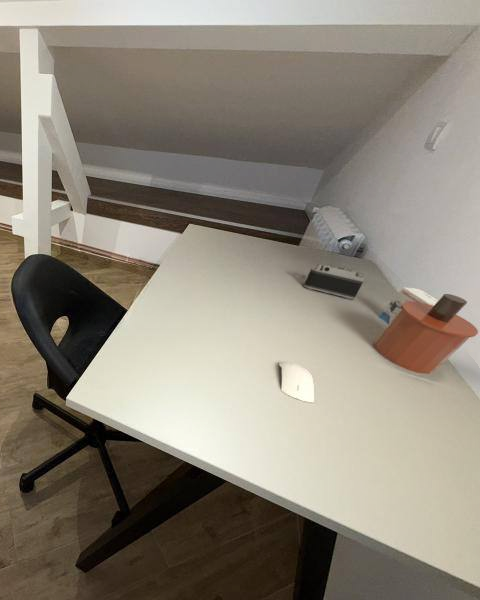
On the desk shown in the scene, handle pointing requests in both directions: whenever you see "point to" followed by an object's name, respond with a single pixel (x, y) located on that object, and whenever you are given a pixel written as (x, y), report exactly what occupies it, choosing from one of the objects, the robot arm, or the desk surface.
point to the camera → (334, 281)
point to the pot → (416, 344)
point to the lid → (442, 315)
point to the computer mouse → (297, 382)
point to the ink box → (402, 297)
